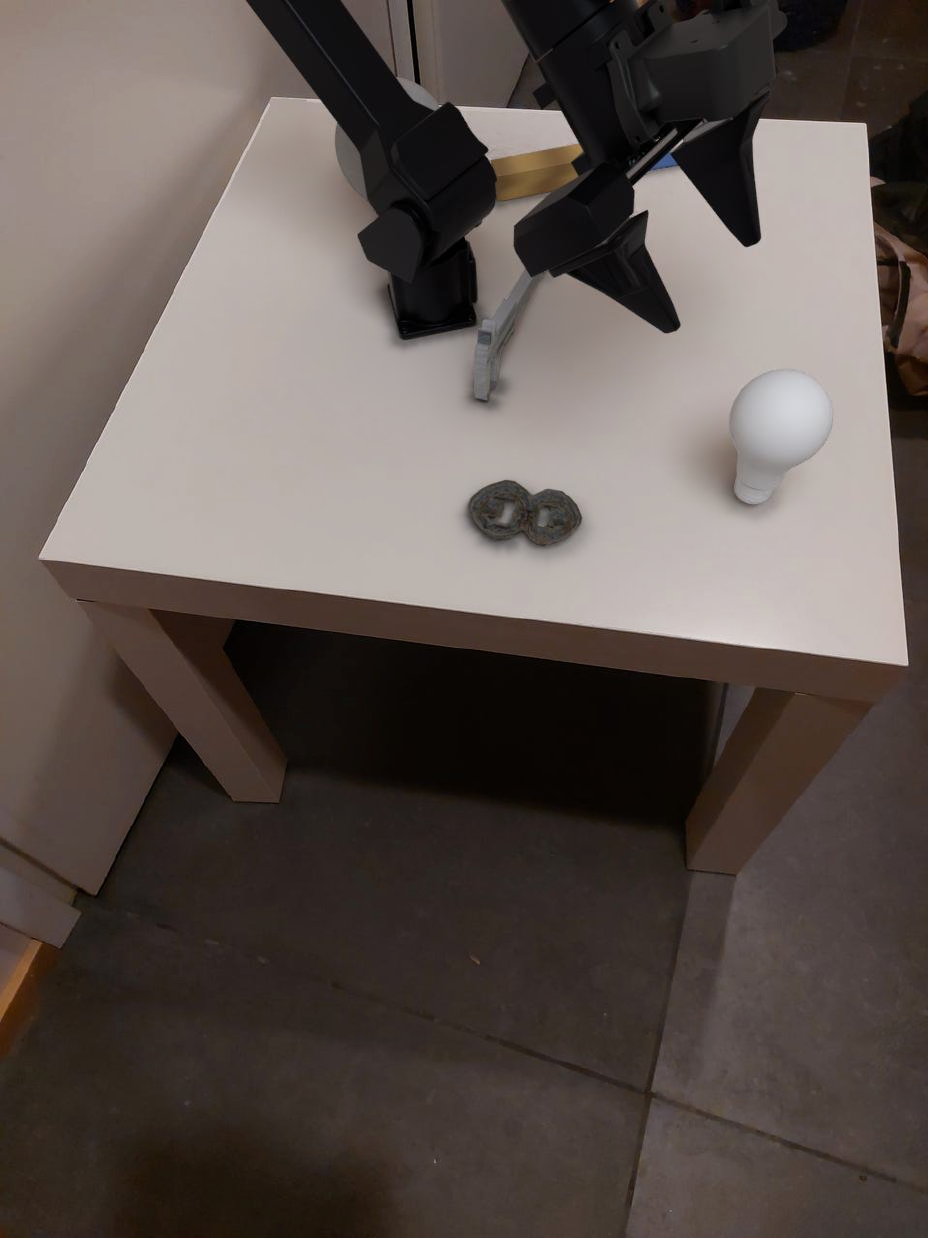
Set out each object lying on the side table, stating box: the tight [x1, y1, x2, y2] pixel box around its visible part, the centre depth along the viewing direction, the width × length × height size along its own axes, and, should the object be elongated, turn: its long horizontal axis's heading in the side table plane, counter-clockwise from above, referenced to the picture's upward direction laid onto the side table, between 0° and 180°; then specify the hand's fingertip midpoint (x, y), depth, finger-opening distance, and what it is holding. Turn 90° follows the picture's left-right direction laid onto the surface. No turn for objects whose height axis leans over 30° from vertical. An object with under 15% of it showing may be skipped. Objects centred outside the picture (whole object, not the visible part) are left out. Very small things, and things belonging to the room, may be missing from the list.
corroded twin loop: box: [467, 479, 583, 546], centre depth 59 cm, size 5×8×1 cm, turn 76°
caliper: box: [472, 268, 545, 401], centre depth 67 cm, size 20×1×6 cm, turn 160°
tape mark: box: [634, 151, 678, 171], centre depth 78 cm, size 6×2×1 cm, turn 102°
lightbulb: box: [728, 368, 834, 505], centre depth 55 cm, size 6×6×11 cm
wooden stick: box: [490, 142, 583, 202], centre depth 77 cm, size 11×2×2 cm, turn 102°
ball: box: [334, 76, 441, 202], centre depth 74 cm, size 10×10×10 cm
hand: (714, 285), depth 51 cm, fingers open, 9 cm apart
